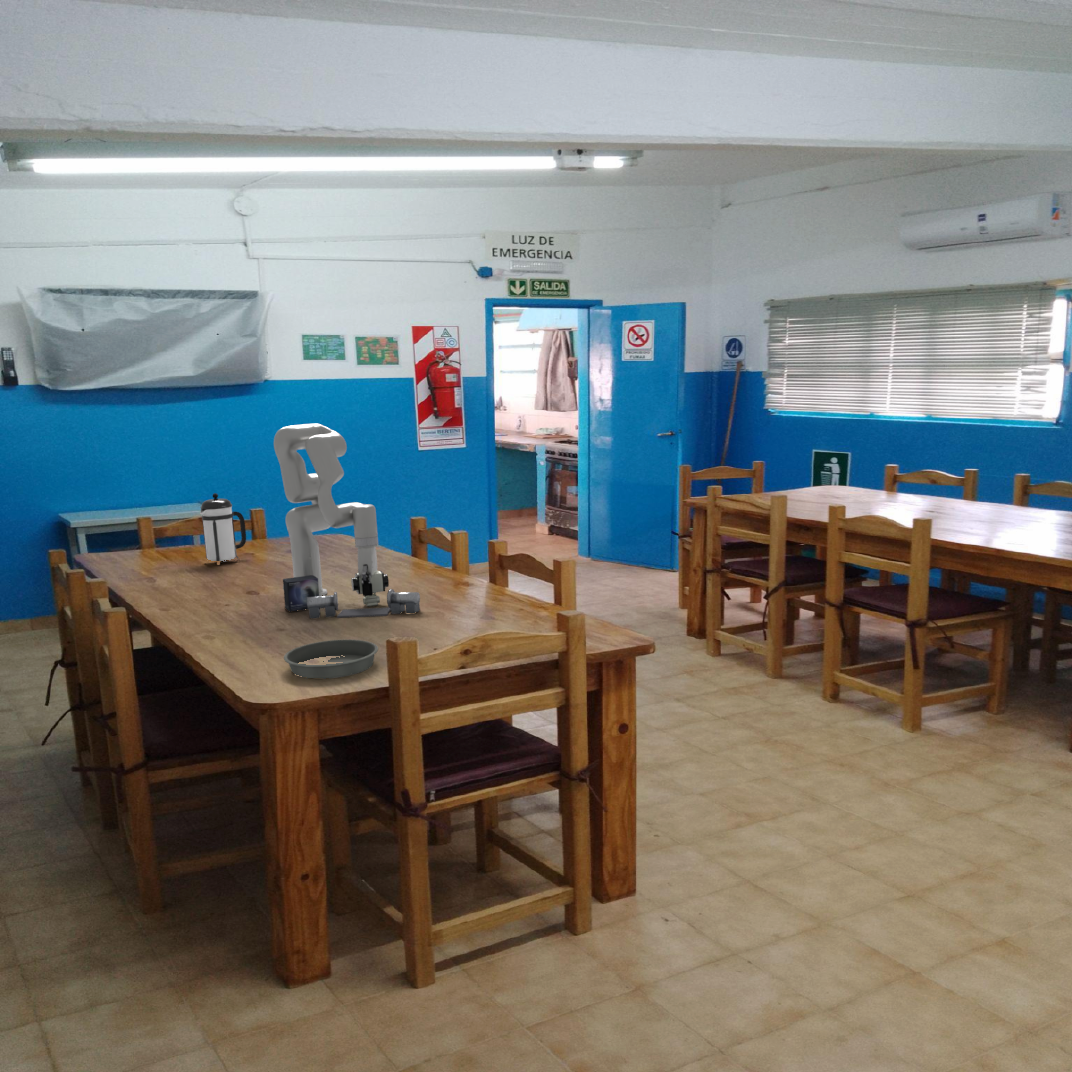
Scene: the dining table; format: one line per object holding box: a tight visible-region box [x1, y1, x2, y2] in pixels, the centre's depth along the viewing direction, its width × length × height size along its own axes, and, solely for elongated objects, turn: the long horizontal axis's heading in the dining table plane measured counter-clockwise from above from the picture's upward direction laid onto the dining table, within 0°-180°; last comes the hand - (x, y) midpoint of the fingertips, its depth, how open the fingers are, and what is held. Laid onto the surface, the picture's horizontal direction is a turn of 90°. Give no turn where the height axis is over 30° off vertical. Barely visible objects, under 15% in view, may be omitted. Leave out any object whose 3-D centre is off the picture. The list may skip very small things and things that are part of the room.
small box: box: [282, 575, 319, 613], centre depth 344 cm, size 11×6×10 cm, turn 117°
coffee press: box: [199, 492, 247, 562], centre depth 439 cm, size 17×16×30 cm
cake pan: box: [283, 639, 379, 680], centre depth 273 cm, size 25×25×4 cm
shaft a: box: [307, 591, 339, 619], centre depth 332 cm, size 9×6×8 cm, turn 98°
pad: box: [336, 606, 391, 619], centre depth 333 cm, size 16×9×1 cm, turn 88°
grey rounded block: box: [386, 588, 421, 615], centre depth 331 cm, size 9×6×8 cm, turn 78°
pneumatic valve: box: [350, 570, 390, 608], centre depth 344 cm, size 6×12×12 cm, turn 109°
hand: (370, 592), depth 344 cm, fingers open, 9 cm apart
